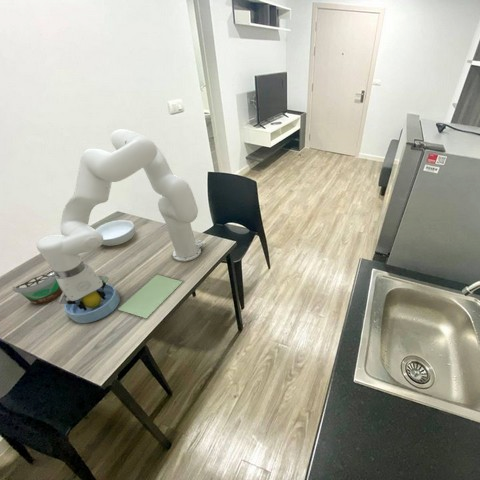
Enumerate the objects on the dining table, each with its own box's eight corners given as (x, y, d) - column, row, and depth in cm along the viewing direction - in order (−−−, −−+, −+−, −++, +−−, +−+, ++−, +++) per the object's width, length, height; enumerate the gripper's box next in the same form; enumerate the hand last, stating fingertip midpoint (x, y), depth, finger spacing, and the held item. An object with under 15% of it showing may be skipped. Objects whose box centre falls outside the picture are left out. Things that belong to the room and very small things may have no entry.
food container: (33, 312, 96) (16, 294, 90) (26, 305, 98) (10, 286, 93) (73, 292, 105) (60, 274, 99) (66, 285, 107) (53, 267, 101)
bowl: (113, 286, 109) (108, 277, 106) (125, 307, 101) (120, 298, 98) (66, 306, 99) (60, 297, 96) (76, 331, 92) (69, 322, 89)
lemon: (96, 313, 97) (86, 299, 93) (83, 310, 98) (72, 296, 93) (108, 302, 102) (99, 288, 97) (96, 299, 102) (86, 285, 98)
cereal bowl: (116, 228, 140) (111, 217, 136) (145, 233, 139) (141, 222, 134) (90, 248, 126) (83, 236, 122) (122, 253, 125) (116, 241, 121)
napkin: (157, 275, 115) (156, 274, 115) (182, 282, 113) (182, 281, 113) (117, 309, 100) (117, 309, 100) (146, 318, 98) (146, 318, 97)
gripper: (42, 288, 81) (71, 323, 91) (104, 259, 93) (123, 293, 103) (32, 277, 84) (61, 313, 94) (93, 251, 96) (113, 285, 106)
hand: (93, 302), depth 99 cm, fingers closed on lemon, 5 cm apart
